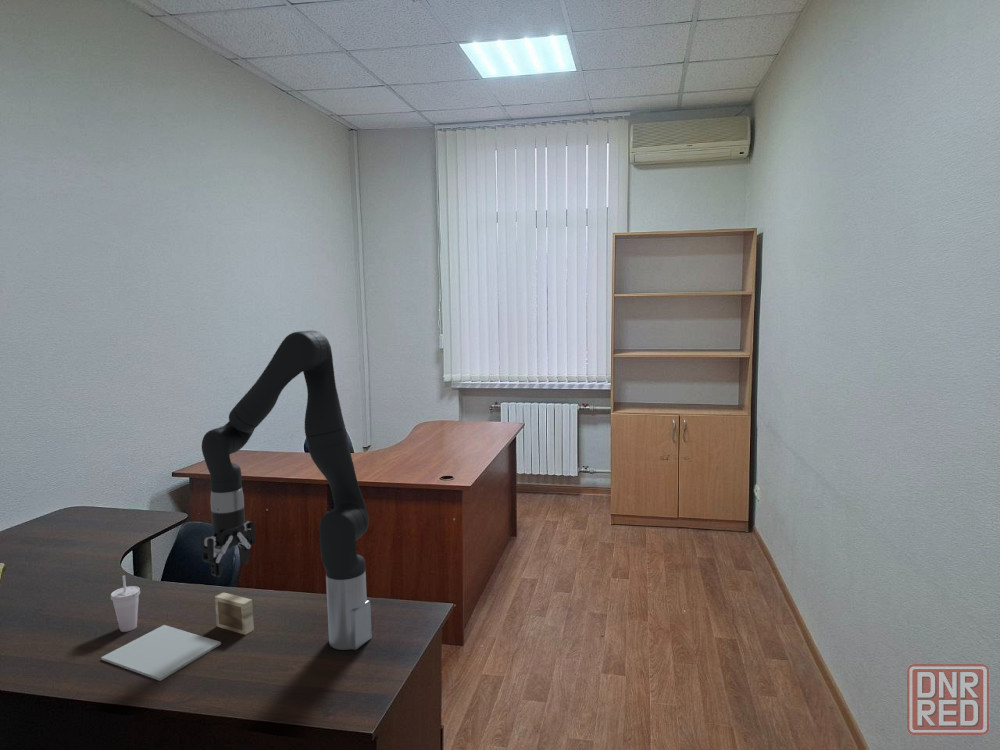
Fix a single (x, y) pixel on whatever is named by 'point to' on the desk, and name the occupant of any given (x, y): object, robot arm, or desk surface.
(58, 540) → the desk surface
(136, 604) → the smoothie
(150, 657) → the mat
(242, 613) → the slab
